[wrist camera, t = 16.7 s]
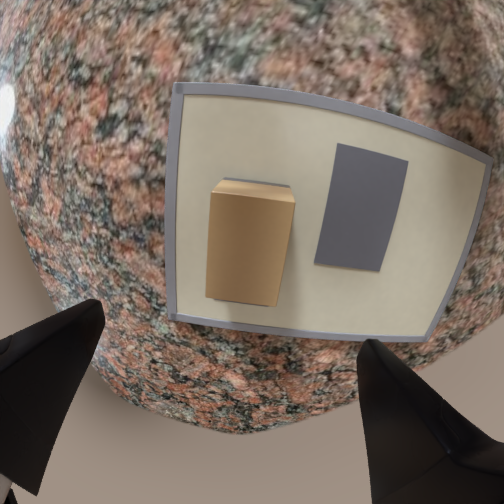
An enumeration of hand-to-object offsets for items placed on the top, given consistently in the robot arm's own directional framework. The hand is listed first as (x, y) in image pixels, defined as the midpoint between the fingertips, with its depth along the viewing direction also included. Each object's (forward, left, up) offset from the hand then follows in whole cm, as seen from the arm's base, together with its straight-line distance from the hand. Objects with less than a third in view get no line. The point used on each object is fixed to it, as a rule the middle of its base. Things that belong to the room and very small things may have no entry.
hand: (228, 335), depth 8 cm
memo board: (-6, 0, -11) cm, 13 cm away
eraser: (0, 0, -10) cm, 10 cm away
